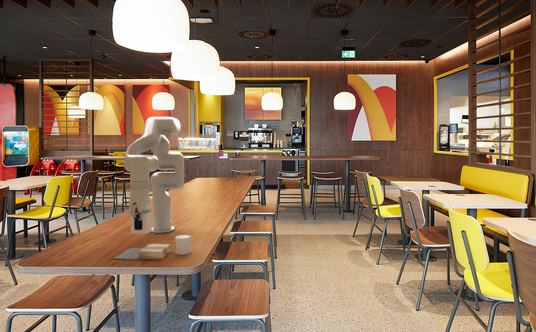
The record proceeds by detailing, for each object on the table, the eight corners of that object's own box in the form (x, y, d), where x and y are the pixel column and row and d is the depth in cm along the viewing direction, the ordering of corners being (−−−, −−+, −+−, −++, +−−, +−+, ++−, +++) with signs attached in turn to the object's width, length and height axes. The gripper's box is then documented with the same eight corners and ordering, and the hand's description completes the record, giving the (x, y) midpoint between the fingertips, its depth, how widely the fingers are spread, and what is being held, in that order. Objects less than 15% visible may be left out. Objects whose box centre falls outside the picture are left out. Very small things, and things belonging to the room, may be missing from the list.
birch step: (150, 250, 148) (150, 243, 148) (170, 250, 147) (170, 244, 147) (139, 258, 137) (138, 251, 137) (160, 259, 136) (160, 252, 136)
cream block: (135, 230, 144) (135, 209, 144) (151, 231, 143) (150, 210, 143) (130, 233, 140) (130, 211, 140) (147, 233, 139) (146, 211, 139)
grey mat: (130, 248, 150) (130, 247, 150) (152, 249, 149) (152, 248, 149) (113, 259, 136) (113, 258, 136) (137, 259, 135) (137, 259, 135)
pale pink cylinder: (172, 252, 145) (171, 236, 144) (186, 249, 150) (186, 233, 149) (180, 256, 140) (180, 239, 140) (194, 252, 145) (194, 236, 144)
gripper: (140, 182, 149) (141, 223, 150) (121, 187, 133) (122, 233, 134) (157, 183, 149) (157, 224, 150) (139, 187, 132) (140, 233, 133)
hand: (141, 227), depth 142 cm, fingers closed on cream block, 4 cm apart
